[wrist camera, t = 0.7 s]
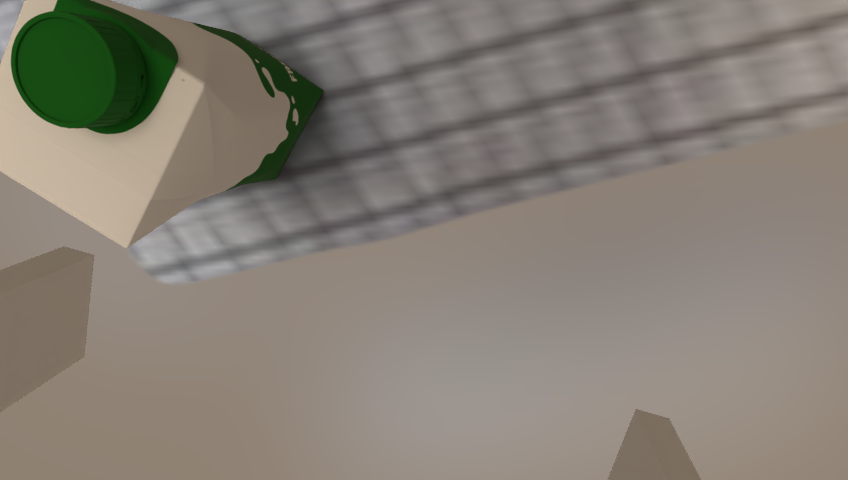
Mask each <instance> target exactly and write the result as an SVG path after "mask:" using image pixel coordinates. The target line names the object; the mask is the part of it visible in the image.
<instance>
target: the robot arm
mask: <svg viewBox="0 0 848 480" xmlns="http://www.w3.org/2000/svg"><path fill="white" fill-rule="evenodd" d="M93 261H94V255H92V254H89V253H86V252H82V251H78V250H75V249H71V248H68V247H61V248H58V249H56V250H53V251H50V252H48V253H45V254H42V255H40V256H37V257H34V258H32V259H29V260H26V261H24V262H21V263H18V264H16V265H13V266H10V267H8V268H5V269H2V270H0V412H1V411H3V410H4V409H6V408H7V407H9V406H10V405H12V404H13V403H15V402H16V401H18V400H19V399H21V398H22V397H24V396H26V395H27V394H29V393H30V392H31V391H33V390H35V389H36V388H37V387H39V386H41V385H42V384H44V383H45V382H47V381H48V380H50V379H51V378H53V377H54V376H56V375H57V374H59V373H60V372H62V371H63V370H65V369H66V368H68V367H69V366H71V365H72V364H74V363H75V362H77V361H78V360H80V359H82V358H83V357H84V355H85V344H86V333H87V324H88V313H89V302H90V293H91V282H92V271H93ZM608 480H701V479H700V477H699V475H698V473H697V471H696V469H695V467H694V465H693V463H692V461H691V460H690V458H689V456H688V454H687V452H686V450H685V448H684V446H683V444H682V442H681V441H680V439H679V437H678V435H677V433H676V431H675V429H674V427H673V425H672V423H671V421H670V419H669V418H665V417H662V416H658V415H655V414H651V413H648V412H644V411H641V410H637V409H636V410H635V413H634V415H633V418H632V420H631V423H630V425H629V428H628V430H627V432H626V435H625V438H624V440H623V443H622V445H621V447H620V450H619V453H618V455H617V458H616V460H615V462H614V465H613V467H612V470H611V472H610V475H609V478H608Z"/></svg>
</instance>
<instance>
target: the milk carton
mask: <svg viewBox="0 0 848 480" xmlns="http://www.w3.org/2000/svg"><path fill="white" fill-rule="evenodd" d="M323 92H324V91H323V90H322V89H320V88H319V87H317V86H316V85H314V84H313V83H312V82H310V81H309V80H307V79H306V78H304V77H303V76H301V75H300V74H299V73H297V72H296V71H294V70H293V69H291V68H290V67H288V66H287V65H285V64H284V63H282V62H281V61H279V60H278V59H276V58H275V57H273V56H272V55H270V54H269V53H267V52H266V51H264V50H263V49H261V48H260V47H258V46H256V45H255V44H253V43H252V42H250V41H248V40H247V39H245V38H243V37H242V36H240V35H238V34H236V33H233V32H229V31H225V30H221V29H217V28H213V27H209V26H205V25H201V24H196V23H192V22H188V21H184V20H180V19H176V18H171V17H167V16H163V15H159V14H155V13H150V12H147V11H143V10H139V9H136V8H133V7H129V6H126V5H123V4H120V3H116V2H113V1H110V0H25V2H24V4H23V7H22V9H21V12H20V15H19V17H18V20H17V22H16V25H15V27H14V30H13V32H12V35H11V38H10V40H9V43H8V45H7V48H6V50H5V53H4V55H3V58H2V61H1V63H0V171H1V172H2V173H4V174H6V175H7V176H9V177H10V178H12V179H14V180H15V181H17V182H19V183H20V184H22V185H23V186H25V187H27V188H29V189H30V190H32V191H33V192H35V193H37V194H38V195H40V196H41V197H43V198H45V199H46V200H48V201H49V202H51V203H53V204H54V205H56V206H58V207H59V208H61V209H62V210H64V211H66V212H67V213H69V214H71V215H72V216H74V217H75V218H77V219H79V220H80V221H82V222H84V223H85V224H87V225H88V226H90V227H92V228H93V229H95V230H97V231H98V232H100V233H101V234H103V235H105V236H106V237H108V238H110V239H111V240H113V241H115V242H116V243H118V244H119V245H121V246H123V247H124V248H128V247H129V246H131V245H132V244H134V243H135V242H136V241H138V240H139V239H141V238H142V237H144V236H145V235H147V234H148V233H150V232H151V231H153V230H154V229H155V228H157V227H158V226H160V225H161V224H163V223H164V222H166V221H167V220H169V219H170V218H172V217H173V216H175V215H176V214H178V213H179V212H181V211H182V210H184V209H185V208H187V207H188V206H190V205H191V204H193V203H194V202H196V201H199V200H201V199H204V198H207V197H210V196H212V195H215V194H218V193H221V192H223V191H226V190H229V189H232V188H234V187H237V186H240V185H243V184H248V183H254V182H260V181H266V180H273V179H276V178H277V177H278V175H279V173H280V171H281V169H282V167H283V165H284V164H285V162H286V160H287V158H288V156H289V154H290V153H291V151H292V149H293V147H294V145H295V143H296V141H297V140H298V138H299V136H300V134H301V132H302V130H303V129H304V127H305V125H306V123H307V121H308V119H309V118H310V116H311V114H312V112H313V110H314V108H315V106H316V105H317V103H318V101H319V99H320V97H321V95H322V94H323Z"/></svg>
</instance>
